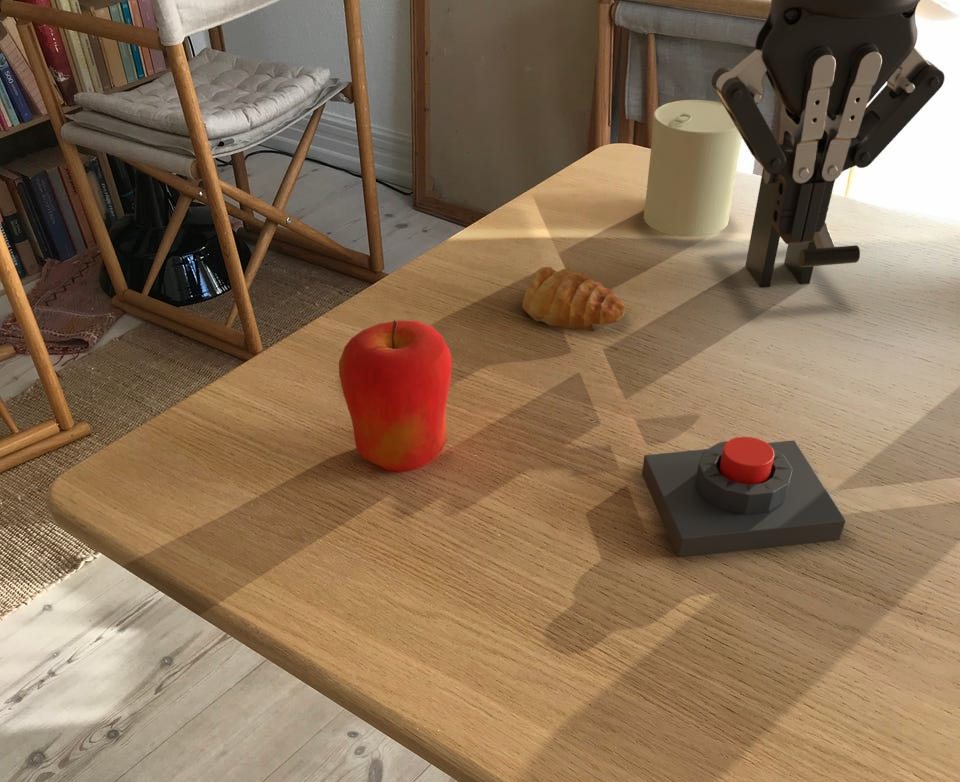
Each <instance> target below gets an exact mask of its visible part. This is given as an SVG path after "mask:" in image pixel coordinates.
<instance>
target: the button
mask: <svg viewBox="0 0 960 782" xmlns="http://www.w3.org/2000/svg"><path fill="white" fill-rule="evenodd" d="M727 441H728V442H727ZM727 441H726V442H727V443H726V444H725V445H724V447H723V452H722V457H721V462H720V472H721V474H722V475H723V476H724V477H726V478H728V479H729V480H731V481H733V482H738V483H743V484H747V485H749V484H759V483H763V482H764V481H766V480H767V479H768V478H769V476H770V472H771V468H772V464H773V459H774V450H773V449H772V447H771V446H770V445H769V444H768V443H769V442H766V441H765V440H763V439H760V438H757V437H752V436H738V437H734V438H731V439H729V440H727Z"/></svg>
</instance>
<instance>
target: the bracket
mask: <svg viewBox="0 0 960 782" xmlns="http://www.w3.org/2000/svg"><path fill="white" fill-rule="evenodd" d="M777 181H778V174H777V173H775V174H770V173H768V172H767V171H766V170H765V169H764V168H763V167H762V173H761V178H760V182H759V183H760V184H759V189H758V193H757V194H758V195H757V200H756V206H755V211H754V216H753V221H752V228H751V233H750V238H749V242H748V243H749V244H748V249H747V254H746V261H745V269H746V271H747V272H748V273H749V275H750V276H751V277H752V278H753V279H754V282H755V283H756V284H757V286H758V287H759V288H762V289H763V288H770V287H771V283H772V278H773V273H774V269H775V264H776V259H777V253H778V248H779V244H780V238H781V237H780V236H779V235H778V232H777V230H776V229H775V228H774V227H773V225H772V222H771V212H772V208H773V201H774V196H775V191H776V186H777ZM803 249H816V245H815V242H814V239H813V241H812V242H807V243H795V244H787V247H786V252H785V257H784V262H783V265H784V266H785V267H786V268H787V270H788V271H789V272H790V273H791V275H792V276H793V277H794V278H795V280H796V282H798V284H799V285H808V284H811V280H812V275H813V271H814V267H815V266H810V267H800V265H799V262H798V257H799V253H800V251H801V250H803Z"/></svg>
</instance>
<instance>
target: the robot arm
mask: <svg viewBox="0 0 960 782" xmlns="http://www.w3.org/2000/svg"><path fill="white" fill-rule="evenodd" d="M920 2H921V0H771V1H770V8H769V12H768V15H767V17H766V19H765V21H764V23H763V25H762V26H761V28H760V29H759V31H758V33H757V35H756V38H755V43H754V44H755V45H754V47H755V48H754V49H755V50H753V51H752V52H751V53H749V55H748V56H746V57H745V58H744V59H743V60H741V61H740V62H739V63H737V64H736V65H735V66H734V67H733V68H732V69H731V68H729V67H726V66H725V67H720V68H718V69H717V70H716V71H714V73H713V75H712V77H711V87H712V89H713V90H714V92H715V94H716V96H717V97H718V98H719V101H720V103H722V104H723V105H724V107H725V109H726V111H727V112H728V114H729V116H730V117H731V119H732V121H733V123H734V124H735V126H736V128H737V130H738V131H739V133H740V135H741V136H742V140H743V142H744V143H745V145H746V147H747V148H748V151H749V152H750V154H751V156H752V157H754V159H755V160H756V161H757V162H758V163H759V164H760V166H761V167H762V169H763V168H764V169H765V170H766V171H767V172H768V173H770V174H775V173H777V174H778V181H777V186H776V191H775V196H774V201H773V208H772V212H771V222H772V225H773V227H774V228H775V229H776V230H777V232H778V235H779V236H780V238H781V240H782V241H783V242H784V243H785V244H786V245H788V244H795V243H807V242H812V241H813V238H814V234H815V232H820V230H821V229H822V227H823V225H824V224H825V222H826V221H827V215H828V214H827V213H828V211H829V206H830V202H831V198H832V194H833V191H834V186H835V182H836V180H837V179H838V178H839V177H840V176H841V174H842V173H843V172H844V171H847V170H849V169H851V168H854V167H857V168H859V169H864V168H866V167H869V166H870V165H871V164H872V163H873V162H874V161H875V160H876V159H877V158H878V156H880V154H881V153H882V152H883V151H884V150H885V149H886V148H887V147H888V146H889V144H891V142H892V141H893V140H894V139H895V138H896V137H897V136H898V135H899V134H900V133H901V132H902V130H903V129H904V128H905V127H907V125H908V124H909V123H910V122H911V121H912V119H913V118H915V116H917V114H918V113H919V112H920V111H921V110H922V109H923V108H924V106H925V105H926V104H928V103H929V101H930V100H931V99H932V98H933V97H934V96H935V95H936V94H937V93H938V91H939V90H941V88H942V87H943V85H944V82H945V73H944V72H943V71H942V70H941V69H940V68H938V67H937V66H936V65H935V64H933V63H932V62H931V61H929V60H927V59H926V58H925V57H924V56H923V55H922V53H921V52H919V50H917V48H916V45H917V40H918V27H917V24H916V23H917V22H916V10H917V7H918V4H919V3H920ZM765 75H766V77H767V79H768V81H769V83H770V85H771V87H772V89H773V92H774V93H775V95H776V97H777V100H778V102H780V113H779V121H780V123H779V124H780V128H781V132H780V139H779V142H778V141H777V139H776V137H775V136H774V133H773V131H772V130H771V127H770V126H769V124H768V122H767V121H766V119H765V117H764V115H763V114H762V112H761V110H760V108H759V107H758V104H759V103H761V102H762V100H763V97H764V94H765V88H764V84H763V80H764V76H765ZM884 85H885V86H884ZM883 86H884V87H883ZM879 91H880V92H879ZM873 98H874V99H873Z"/></svg>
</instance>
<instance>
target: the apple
mask: <svg viewBox="0 0 960 782" xmlns="http://www.w3.org/2000/svg"><path fill="white" fill-rule="evenodd" d="M452 360H453V359H452V353H451V350H450V348H449V347H448V345H447V343H446V341H445V339H444V337H443V335H442V334H441V333H439V332H438V331H437V330H436V329H435V327H433V326H431V325H429V324H426V323H424V322H421V321H419V320H405V319H404V320H399V319H397V320H395V319H393V321H386V322H381V323H377V324H374V325H372V326H370V327H367V328H365V329H362V330H360V331H359V332H358V333H356V334H355V335H354V336H352V337H351V338H350V339H349V341H348V342H347V344H345V346H344V348H343V351H342V353H341V357H340V359H339V361H338V375H339V380H340V385H341V389H342V394H343V397H344V400H345V403H346V406H347V410H348V412H349V415H350V419H351V423H352V429H353V435H354V442H355V446H356V447H355V449H356V450H357V452H358V453H359V454H360V455H361V456H362V457H363V459H365V460H367V461H368V462H370V463H372V464H374V465H376V466H378V467H381V468H382V469H384V470H385V471H391V472H397V473H400V472H411V471H414V470H415V471H416V470H417V469H421V468H424V467H425V466H426V465H428V464H429V463H430V462H432V461H433V460H434V459H435V458H436V457H437V456H438V455H439V454H441V452H442V451H443V450H444V448H445V445H446V443H447V441H448V437H447V436H448V435H447V434H448V433H447V416H446V414H447V413H446V412H447V411H446V410H447V405H448V399H449V392H450V386H451V378H452V369H453V361H452Z"/></svg>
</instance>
